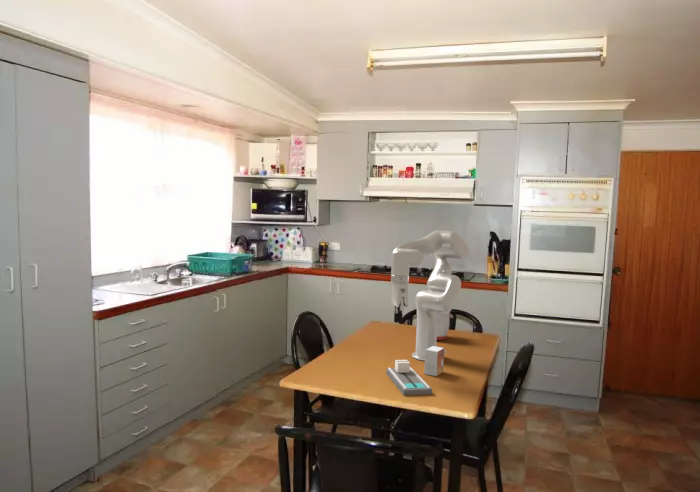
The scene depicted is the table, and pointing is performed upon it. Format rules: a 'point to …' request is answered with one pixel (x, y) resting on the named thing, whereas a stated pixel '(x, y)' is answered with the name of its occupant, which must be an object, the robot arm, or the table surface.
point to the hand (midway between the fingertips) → (397, 322)
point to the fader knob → (402, 366)
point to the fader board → (409, 382)
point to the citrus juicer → (442, 324)
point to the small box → (434, 360)
